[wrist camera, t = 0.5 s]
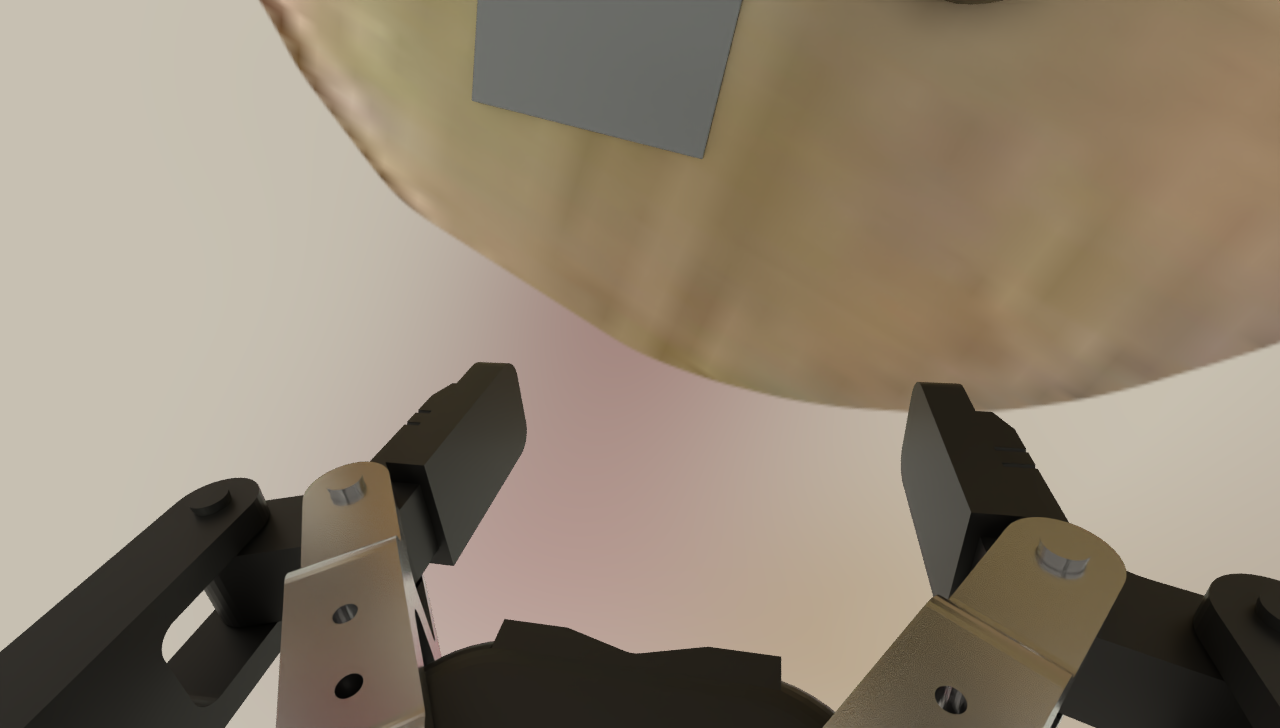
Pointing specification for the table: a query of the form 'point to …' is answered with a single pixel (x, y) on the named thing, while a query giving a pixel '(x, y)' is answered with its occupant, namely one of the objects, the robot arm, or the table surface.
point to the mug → (972, 1)
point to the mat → (608, 65)
